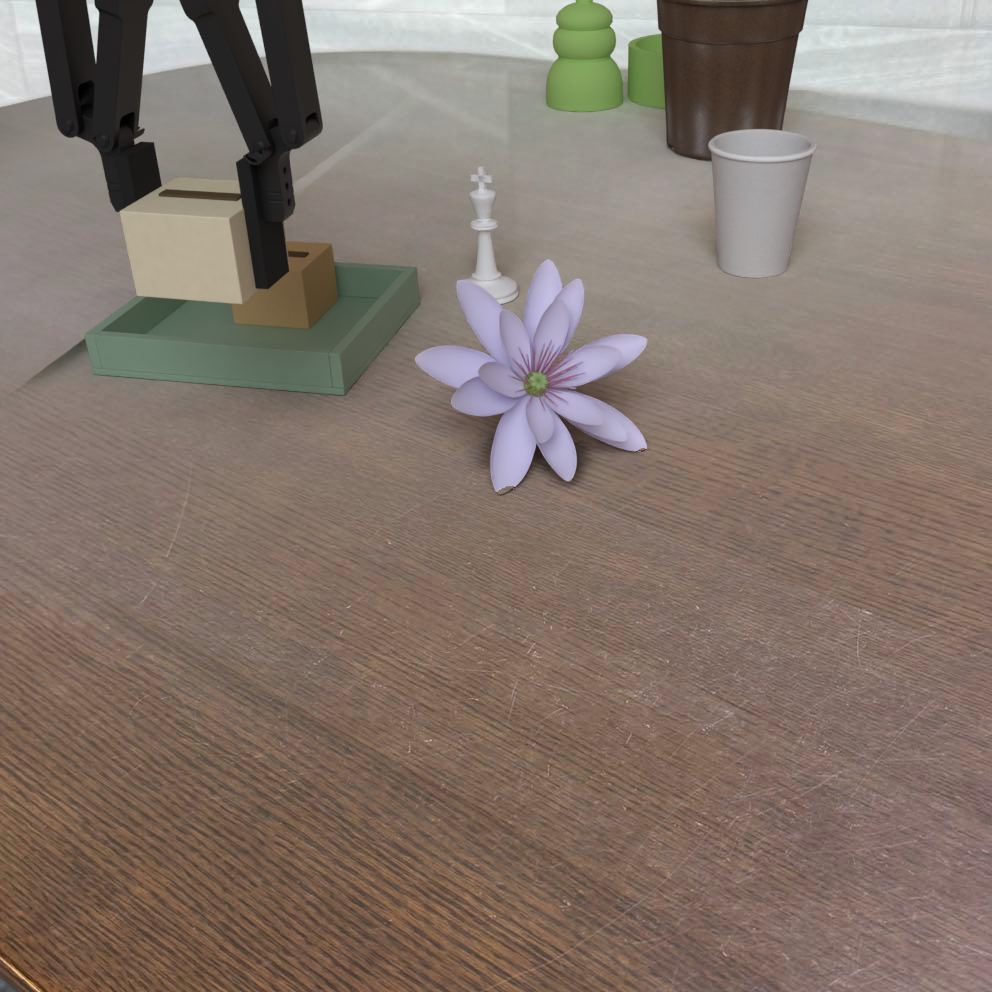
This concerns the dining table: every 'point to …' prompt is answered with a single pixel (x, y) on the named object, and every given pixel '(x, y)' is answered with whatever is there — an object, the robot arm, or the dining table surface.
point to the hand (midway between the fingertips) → (214, 274)
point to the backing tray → (259, 337)
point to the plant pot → (726, 67)
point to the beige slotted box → (190, 242)
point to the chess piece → (488, 243)
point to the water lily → (534, 376)
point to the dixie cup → (758, 198)
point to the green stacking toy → (600, 63)
